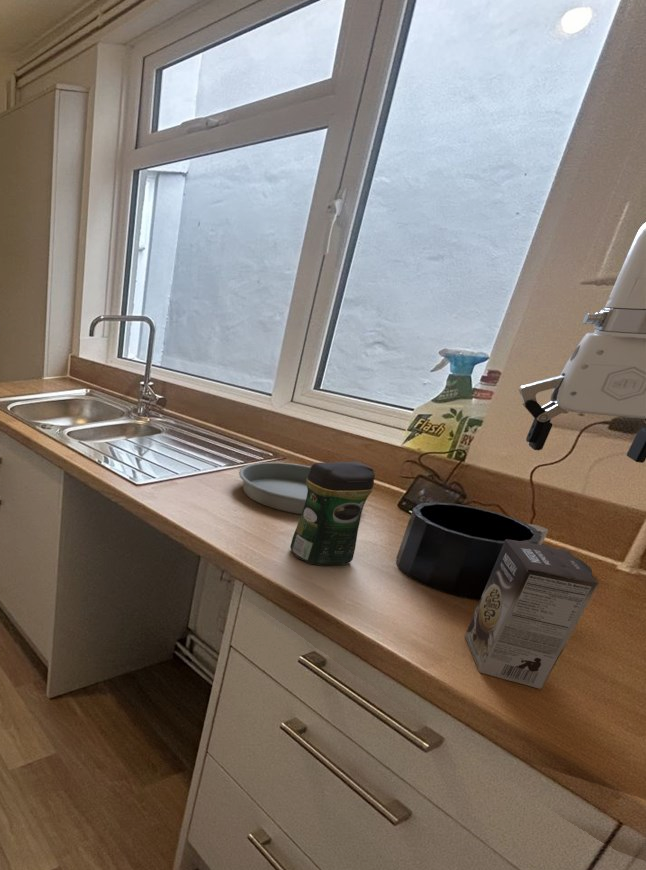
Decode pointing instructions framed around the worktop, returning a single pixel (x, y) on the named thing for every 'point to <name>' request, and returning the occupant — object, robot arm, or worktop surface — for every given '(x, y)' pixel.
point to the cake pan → (276, 485)
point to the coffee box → (528, 612)
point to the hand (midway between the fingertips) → (582, 453)
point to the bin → (457, 546)
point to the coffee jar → (332, 512)
